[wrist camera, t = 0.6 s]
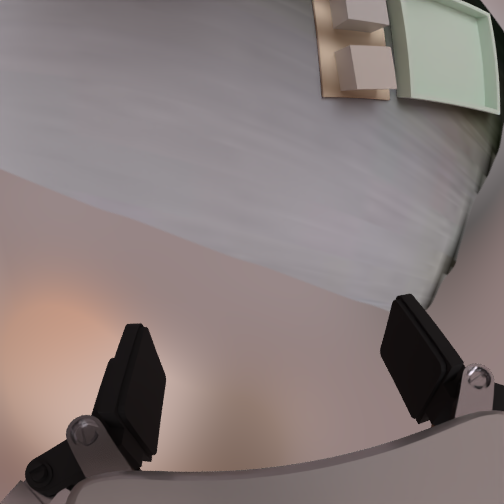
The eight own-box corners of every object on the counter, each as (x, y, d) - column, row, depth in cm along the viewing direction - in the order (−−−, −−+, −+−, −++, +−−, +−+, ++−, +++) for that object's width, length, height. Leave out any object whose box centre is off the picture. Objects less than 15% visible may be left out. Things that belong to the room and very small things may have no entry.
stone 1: (328, -6, 25) (342, -19, 21) (365, -1, 25) (383, -12, 21) (333, 28, 27) (348, 18, 23) (370, 32, 28) (389, 25, 23)
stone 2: (334, 52, 29) (349, 45, 24) (371, 52, 29) (390, 46, 24) (340, 90, 31) (357, 89, 27) (377, 89, 31) (397, 89, 27)
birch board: (310, -12, 25) (311, -14, 25) (376, -3, 25) (378, -4, 25) (322, 97, 32) (323, 96, 31) (387, 99, 32) (389, 99, 32)
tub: (383, -16, 24) (395, -23, 21) (475, 16, 25) (489, 13, 22) (396, 97, 32) (411, 97, 29) (485, 112, 33) (499, 114, 29)
